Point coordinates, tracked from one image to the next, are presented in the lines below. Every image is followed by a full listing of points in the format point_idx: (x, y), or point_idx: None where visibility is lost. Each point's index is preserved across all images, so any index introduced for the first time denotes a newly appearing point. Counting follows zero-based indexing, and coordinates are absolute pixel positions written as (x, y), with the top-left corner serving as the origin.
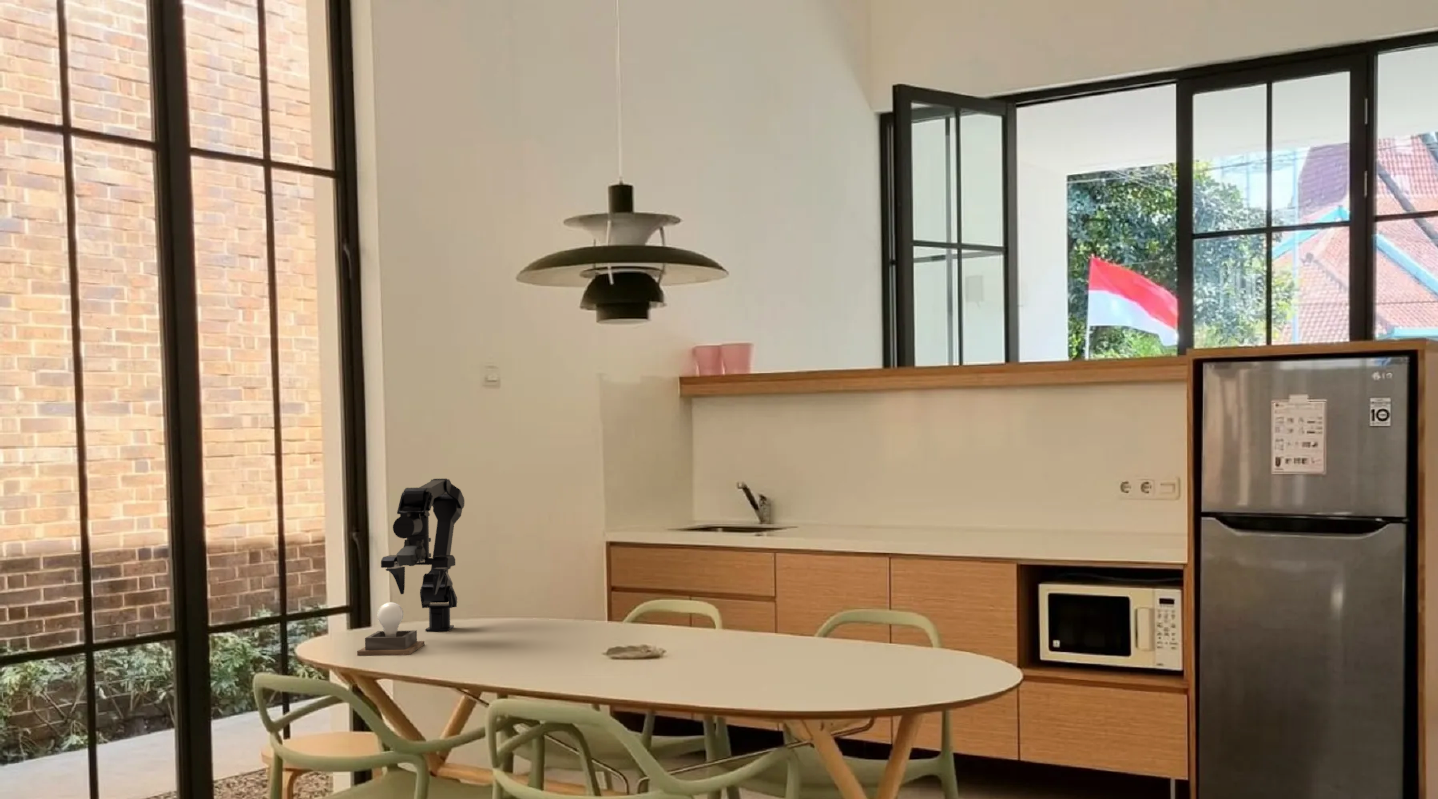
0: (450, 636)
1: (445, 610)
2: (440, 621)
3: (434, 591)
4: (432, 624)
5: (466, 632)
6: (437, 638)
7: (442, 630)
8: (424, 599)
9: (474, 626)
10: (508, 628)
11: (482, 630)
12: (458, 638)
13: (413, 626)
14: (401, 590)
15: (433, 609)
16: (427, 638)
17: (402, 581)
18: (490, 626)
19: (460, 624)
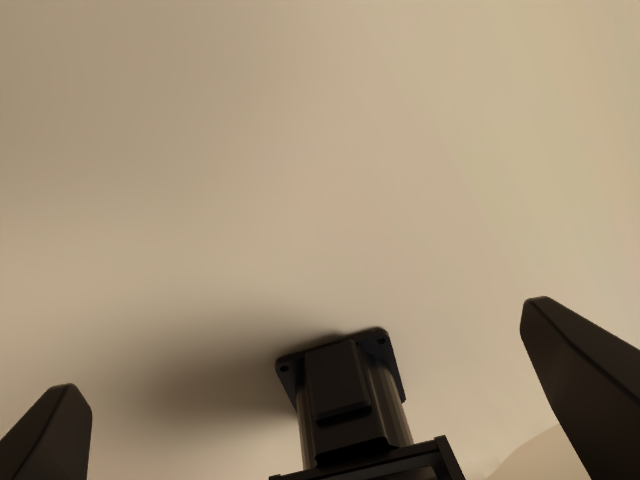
0: (161, 263)
1: (309, 457)
2: (310, 383)
3: (35, 415)
4: (349, 358)
5: (160, 360)
6: (192, 196)
7: (300, 352)
8: (429, 474)
9: (230, 453)
10: None
11: (121, 409)
12: (60, 226)
13: (498, 393)
14: (557, 327)
15: (365, 435)
16: (255, 182)
17: (633, 478)
18: (160, 468)
19: None
